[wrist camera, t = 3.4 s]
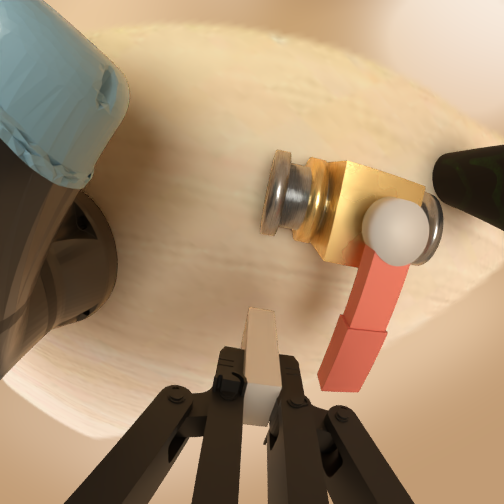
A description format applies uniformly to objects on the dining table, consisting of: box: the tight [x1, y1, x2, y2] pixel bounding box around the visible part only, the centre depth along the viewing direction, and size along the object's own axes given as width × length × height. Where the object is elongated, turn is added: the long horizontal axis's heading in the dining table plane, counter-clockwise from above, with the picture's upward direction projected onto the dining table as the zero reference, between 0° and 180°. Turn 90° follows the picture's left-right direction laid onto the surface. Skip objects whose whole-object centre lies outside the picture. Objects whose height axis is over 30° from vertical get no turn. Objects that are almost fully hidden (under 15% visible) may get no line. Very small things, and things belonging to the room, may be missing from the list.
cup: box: [433, 145, 504, 231], centre depth 18 cm, size 8×8×12 cm
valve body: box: [260, 150, 443, 268], centre depth 20 cm, size 14×7×10 cm, turn 79°
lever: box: [317, 197, 429, 392], centre depth 16 cm, size 13×4×2 cm, turn 169°
